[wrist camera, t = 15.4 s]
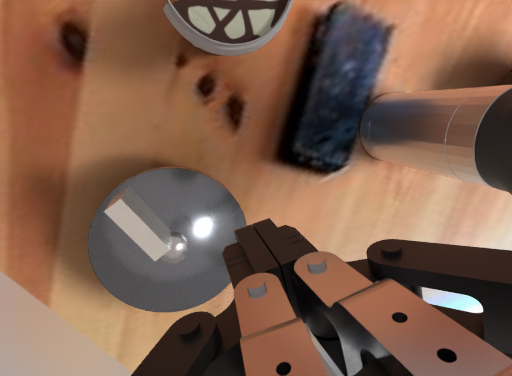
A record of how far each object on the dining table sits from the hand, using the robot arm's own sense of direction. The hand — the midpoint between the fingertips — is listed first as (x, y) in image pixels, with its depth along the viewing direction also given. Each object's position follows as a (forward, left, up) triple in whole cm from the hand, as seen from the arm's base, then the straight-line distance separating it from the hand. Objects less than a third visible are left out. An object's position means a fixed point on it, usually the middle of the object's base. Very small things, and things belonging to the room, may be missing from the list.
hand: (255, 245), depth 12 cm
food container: (-7, -12, -27) cm, 31 cm away
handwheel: (+6, +8, -23) cm, 26 cm away
